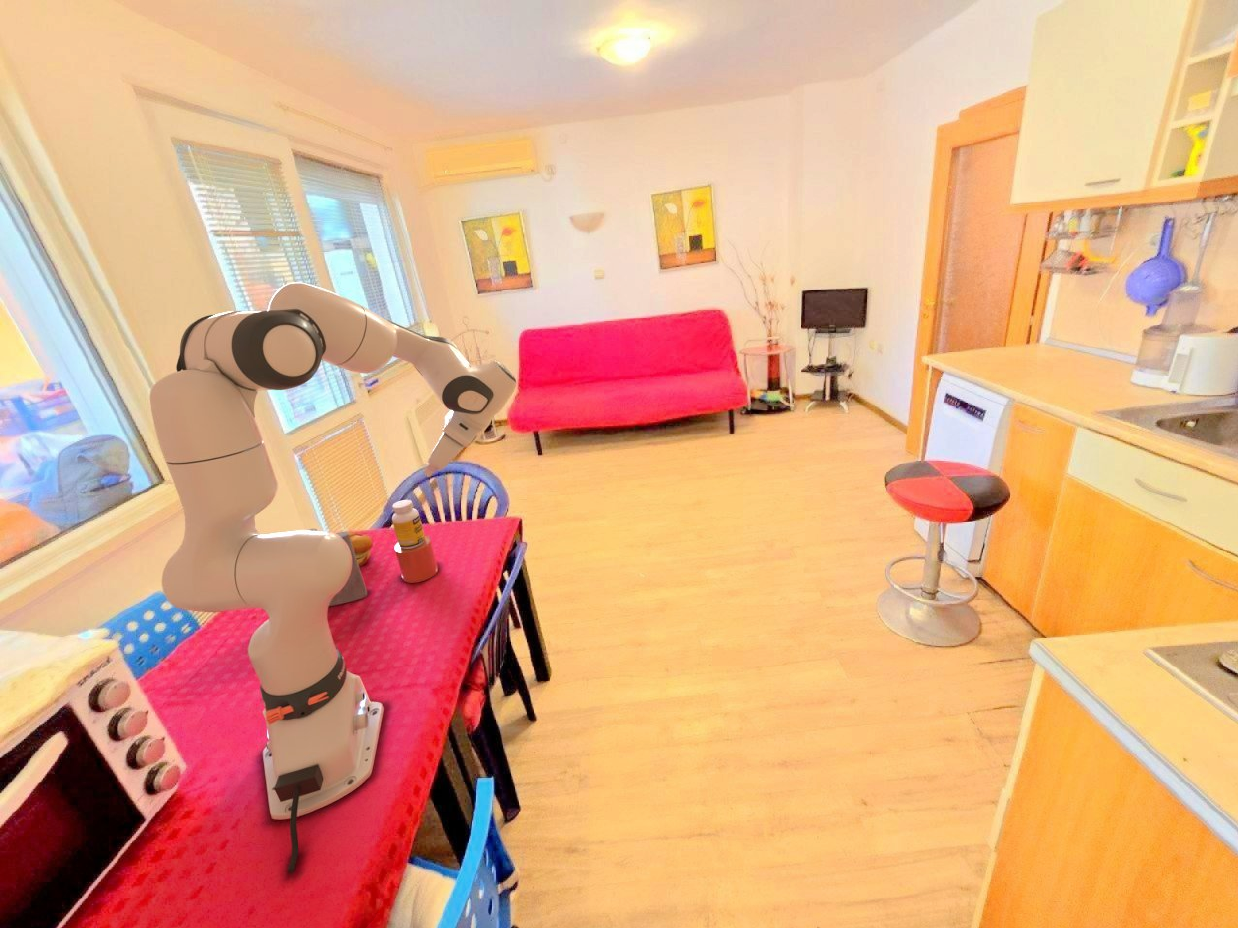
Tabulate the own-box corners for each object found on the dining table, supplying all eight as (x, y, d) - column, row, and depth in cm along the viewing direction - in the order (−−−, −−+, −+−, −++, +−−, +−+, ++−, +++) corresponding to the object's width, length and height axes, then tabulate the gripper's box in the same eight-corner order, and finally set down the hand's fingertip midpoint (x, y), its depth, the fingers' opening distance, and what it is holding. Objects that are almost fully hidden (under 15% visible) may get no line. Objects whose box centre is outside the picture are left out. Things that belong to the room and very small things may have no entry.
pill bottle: (416, 550, 128) (405, 509, 124) (394, 549, 130) (382, 509, 125) (430, 537, 134) (420, 498, 130) (408, 536, 135) (398, 497, 131)
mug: (440, 575, 133) (433, 545, 130) (403, 586, 129) (395, 556, 126) (434, 555, 143) (427, 527, 140) (400, 566, 139) (392, 537, 136)
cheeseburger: (330, 560, 145) (329, 528, 142) (371, 557, 150) (371, 525, 147) (329, 577, 136) (329, 542, 134) (373, 572, 141) (374, 539, 139)
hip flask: (368, 590, 129) (347, 521, 122) (365, 599, 125) (342, 529, 118) (301, 603, 126) (275, 533, 119) (295, 612, 123) (268, 541, 115)
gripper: (462, 403, 125) (431, 444, 128) (444, 427, 106) (408, 475, 109) (483, 418, 127) (452, 459, 130) (469, 445, 108) (433, 491, 111)
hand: (432, 466), depth 120 cm, fingers open, 8 cm apart
